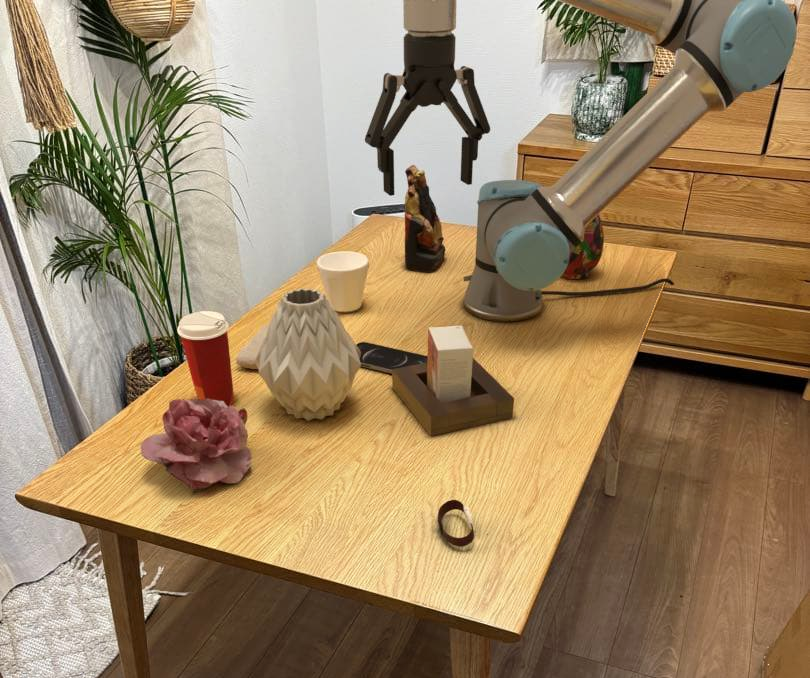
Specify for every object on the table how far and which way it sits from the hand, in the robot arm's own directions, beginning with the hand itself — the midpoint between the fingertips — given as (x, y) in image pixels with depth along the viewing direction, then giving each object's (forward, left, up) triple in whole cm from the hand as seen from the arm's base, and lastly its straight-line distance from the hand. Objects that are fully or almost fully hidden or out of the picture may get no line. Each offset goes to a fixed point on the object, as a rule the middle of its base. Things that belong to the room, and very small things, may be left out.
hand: (428, 187), depth 127 cm
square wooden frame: (+5, +22, -27) cm, 35 cm away
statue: (-15, -35, -27) cm, 47 cm away
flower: (+46, +24, -27) cm, 58 cm away
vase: (+26, +15, -27) cm, 40 cm away
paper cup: (+40, +7, -27) cm, 49 cm away
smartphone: (+10, +5, -27) cm, 29 cm away
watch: (+18, +52, -27) cm, 61 cm away
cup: (+9, -20, -27) cm, 35 cm away
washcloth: (+24, -6, -27) cm, 37 cm away
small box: (+6, +22, -26) cm, 34 cm away
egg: (-41, -17, -27) cm, 52 cm away
